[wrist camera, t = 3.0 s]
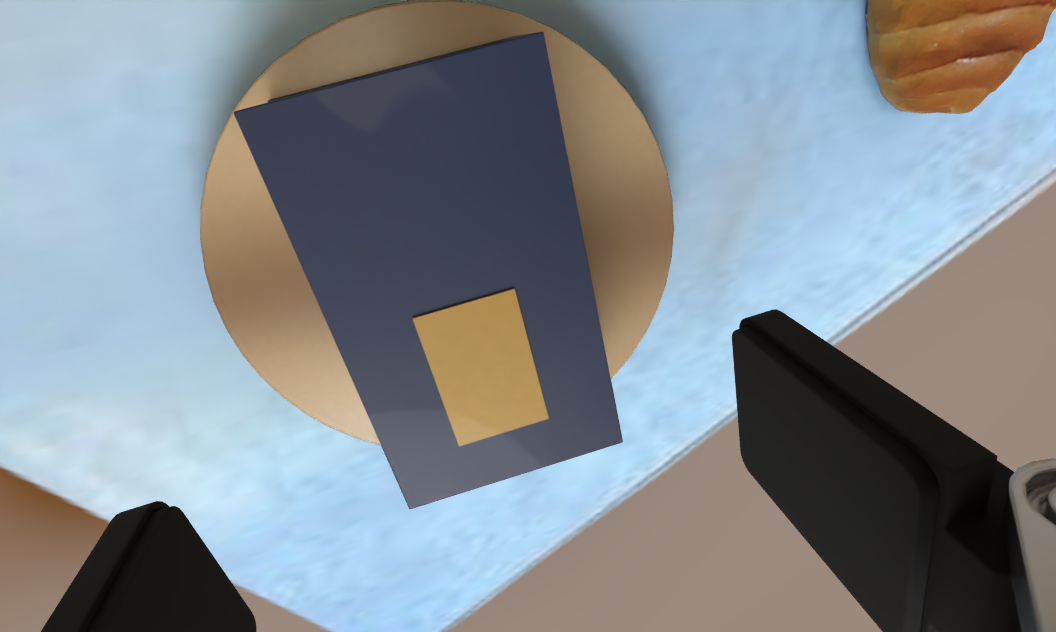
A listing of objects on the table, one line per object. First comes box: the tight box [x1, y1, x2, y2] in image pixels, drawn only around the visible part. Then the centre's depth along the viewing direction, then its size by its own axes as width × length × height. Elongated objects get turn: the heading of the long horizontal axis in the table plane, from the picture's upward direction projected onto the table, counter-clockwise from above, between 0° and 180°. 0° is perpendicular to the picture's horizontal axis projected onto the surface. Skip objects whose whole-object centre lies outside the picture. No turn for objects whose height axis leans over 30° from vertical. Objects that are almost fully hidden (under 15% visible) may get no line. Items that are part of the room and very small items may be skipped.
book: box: [200, 0, 674, 509], centre depth 17 cm, size 15×15×4 cm
